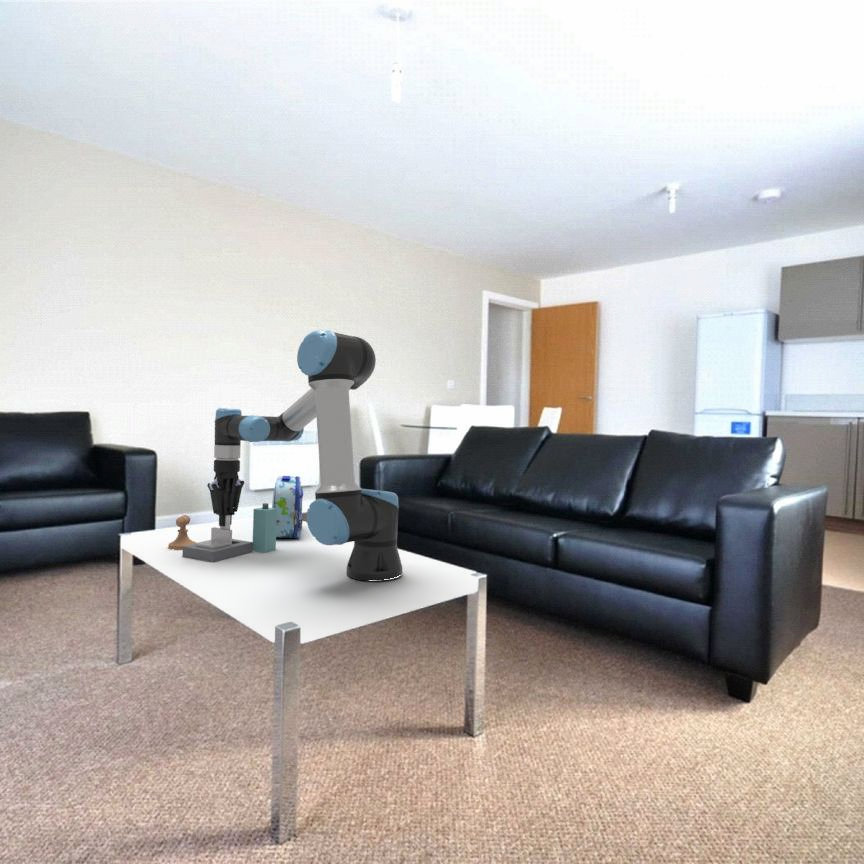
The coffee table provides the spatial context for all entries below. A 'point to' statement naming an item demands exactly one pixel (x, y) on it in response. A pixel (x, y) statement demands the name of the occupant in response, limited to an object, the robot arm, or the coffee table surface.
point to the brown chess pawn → (181, 534)
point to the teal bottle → (264, 528)
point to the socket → (218, 551)
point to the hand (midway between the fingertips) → (224, 536)
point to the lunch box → (288, 506)
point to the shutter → (217, 538)
